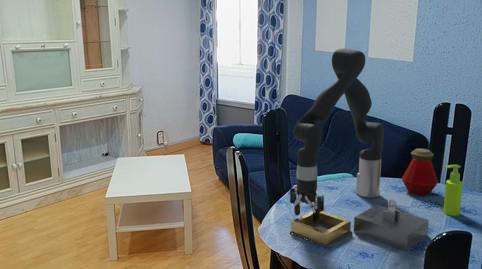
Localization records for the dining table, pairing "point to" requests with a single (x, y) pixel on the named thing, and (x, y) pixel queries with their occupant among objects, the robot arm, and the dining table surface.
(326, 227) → the black mat
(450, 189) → the soap dispenser
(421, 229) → the translucent grey knobbed box
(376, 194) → the robot arm
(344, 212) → the dining table surface
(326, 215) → the wooden tray
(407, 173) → the bottle
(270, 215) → the dining table surface
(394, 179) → the dining table surface
